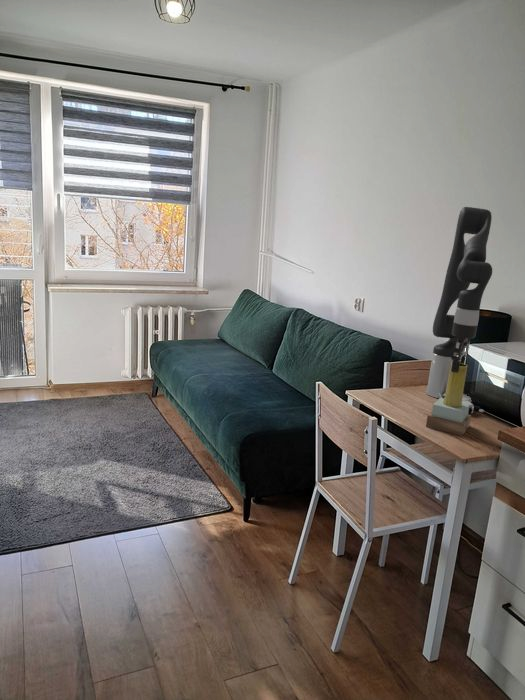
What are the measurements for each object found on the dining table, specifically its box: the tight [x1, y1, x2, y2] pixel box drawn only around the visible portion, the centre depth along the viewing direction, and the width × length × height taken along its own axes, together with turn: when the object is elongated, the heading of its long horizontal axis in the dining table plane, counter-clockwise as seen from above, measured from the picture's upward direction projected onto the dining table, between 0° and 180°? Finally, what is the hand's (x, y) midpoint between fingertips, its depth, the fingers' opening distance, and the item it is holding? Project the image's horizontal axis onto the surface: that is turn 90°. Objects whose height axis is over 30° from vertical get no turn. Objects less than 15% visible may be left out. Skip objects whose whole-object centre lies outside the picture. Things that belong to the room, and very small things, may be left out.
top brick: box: [431, 398, 470, 423], centre depth 190 cm, size 10×10×4 cm
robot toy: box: [439, 393, 485, 415], centre depth 211 cm, size 12×4×15 cm
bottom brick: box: [425, 411, 472, 437], centre depth 191 cm, size 12×12×4 cm
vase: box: [443, 362, 468, 407], centre depth 187 cm, size 6×6×14 cm
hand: (457, 369), depth 186 cm, fingers open, 8 cm apart
